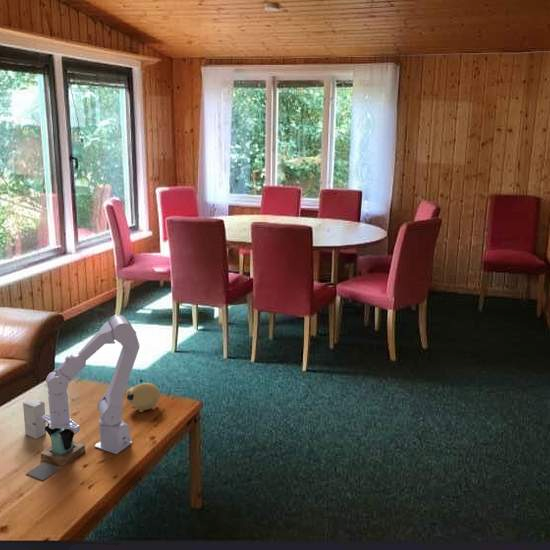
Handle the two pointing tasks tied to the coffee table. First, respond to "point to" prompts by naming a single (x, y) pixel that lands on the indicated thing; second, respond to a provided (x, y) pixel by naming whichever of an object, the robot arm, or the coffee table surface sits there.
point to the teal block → (59, 444)
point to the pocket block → (64, 459)
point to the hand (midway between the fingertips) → (62, 446)
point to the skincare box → (34, 418)
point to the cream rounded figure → (143, 396)
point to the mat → (43, 471)
